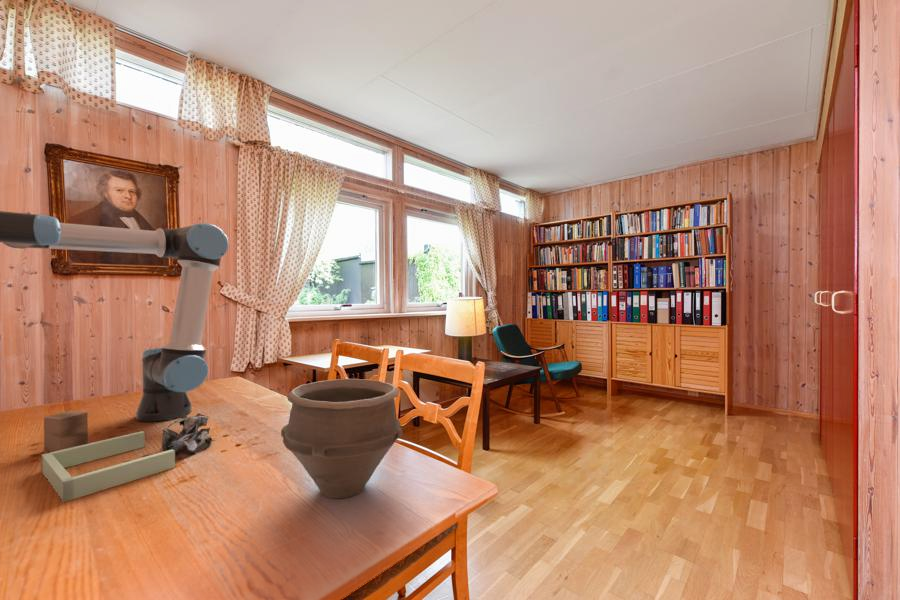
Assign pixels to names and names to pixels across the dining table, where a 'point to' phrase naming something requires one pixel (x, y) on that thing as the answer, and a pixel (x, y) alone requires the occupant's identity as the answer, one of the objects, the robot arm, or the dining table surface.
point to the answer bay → (106, 476)
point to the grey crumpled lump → (188, 434)
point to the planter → (341, 431)
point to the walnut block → (65, 430)
